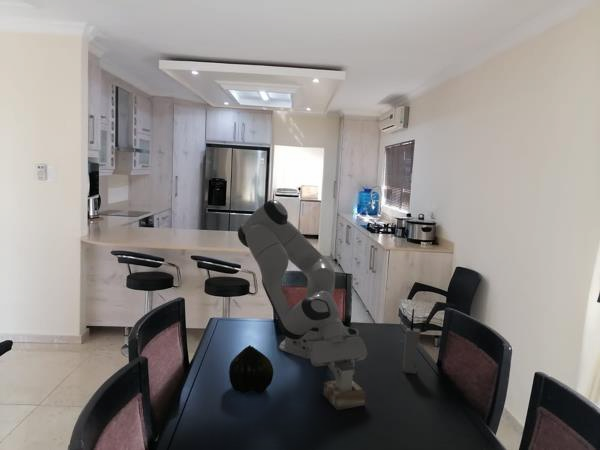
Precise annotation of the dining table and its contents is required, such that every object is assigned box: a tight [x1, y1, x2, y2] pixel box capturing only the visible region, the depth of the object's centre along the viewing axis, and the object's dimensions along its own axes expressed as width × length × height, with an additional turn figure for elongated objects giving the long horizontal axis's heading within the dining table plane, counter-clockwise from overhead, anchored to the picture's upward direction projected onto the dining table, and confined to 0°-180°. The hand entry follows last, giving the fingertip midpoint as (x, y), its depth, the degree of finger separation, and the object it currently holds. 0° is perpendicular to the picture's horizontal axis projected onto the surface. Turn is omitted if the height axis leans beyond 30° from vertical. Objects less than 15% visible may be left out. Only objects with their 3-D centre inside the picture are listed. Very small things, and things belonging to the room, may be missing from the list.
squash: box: [228, 345, 274, 394], centre depth 146 cm, size 14×15×15 cm
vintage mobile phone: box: [402, 308, 421, 375], centre depth 165 cm, size 4×5×25 cm
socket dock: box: [323, 379, 366, 411], centre depth 142 cm, size 10×10×4 cm
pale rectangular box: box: [334, 361, 353, 392], centre depth 141 cm, size 4×4×8 cm
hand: (345, 375), depth 140 cm, fingers closed on pale rectangular box, 4 cm apart
